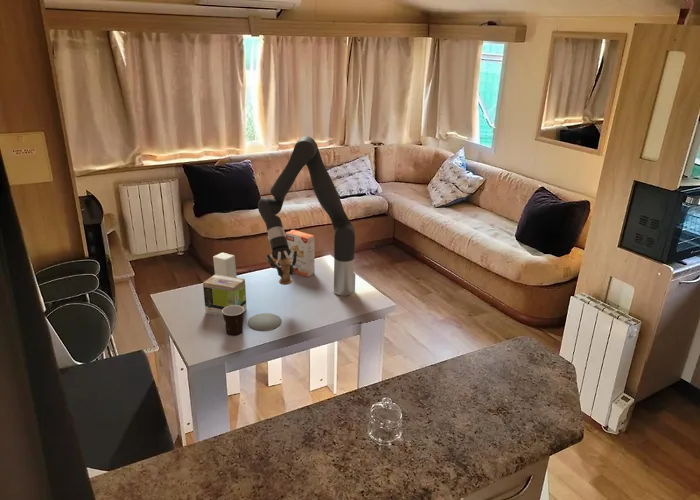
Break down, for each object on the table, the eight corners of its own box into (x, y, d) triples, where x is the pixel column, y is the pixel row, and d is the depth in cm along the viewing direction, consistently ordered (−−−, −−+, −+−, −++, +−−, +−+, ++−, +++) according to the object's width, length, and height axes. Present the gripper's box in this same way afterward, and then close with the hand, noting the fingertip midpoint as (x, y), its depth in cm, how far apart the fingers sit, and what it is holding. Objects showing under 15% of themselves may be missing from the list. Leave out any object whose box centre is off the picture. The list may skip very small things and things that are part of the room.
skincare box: (237, 285, 258) (235, 255, 252) (227, 290, 252) (225, 260, 247) (224, 281, 262) (222, 251, 256) (214, 286, 257) (212, 255, 251)
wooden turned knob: (290, 278, 237) (289, 257, 233) (293, 283, 232) (293, 261, 228) (277, 280, 235) (276, 258, 231) (281, 285, 230) (280, 263, 226)
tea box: (247, 309, 236) (245, 278, 231) (235, 319, 227) (233, 288, 222) (217, 303, 241) (215, 273, 235) (204, 313, 232) (202, 282, 226)
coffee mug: (226, 326, 222) (225, 304, 218) (247, 327, 222) (246, 305, 218) (219, 341, 211) (217, 318, 208) (241, 342, 211) (239, 319, 207)
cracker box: (286, 270, 275) (285, 232, 267) (293, 266, 280) (293, 228, 272) (307, 277, 268) (307, 238, 260) (315, 273, 272) (315, 234, 265)
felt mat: (276, 311, 235) (276, 310, 235) (285, 327, 223) (285, 326, 223) (244, 317, 229) (244, 316, 229) (252, 333, 218) (252, 332, 217)
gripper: (263, 237, 230) (271, 274, 225) (294, 233, 236) (304, 269, 230) (260, 245, 237) (269, 281, 231) (291, 240, 242) (300, 275, 236)
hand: (286, 275), depth 230 cm, fingers closed on wooden turned knob, 4 cm apart
